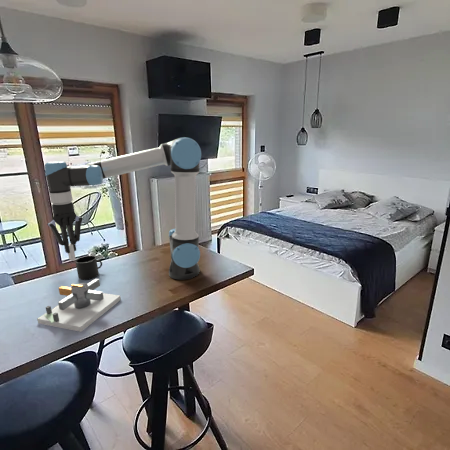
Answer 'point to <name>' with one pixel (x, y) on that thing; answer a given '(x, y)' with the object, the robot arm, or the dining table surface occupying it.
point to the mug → (87, 267)
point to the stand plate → (78, 314)
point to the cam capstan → (80, 294)
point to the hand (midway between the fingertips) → (72, 259)
